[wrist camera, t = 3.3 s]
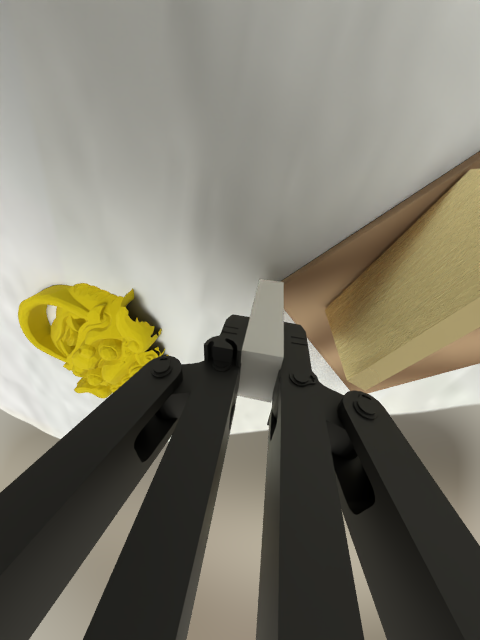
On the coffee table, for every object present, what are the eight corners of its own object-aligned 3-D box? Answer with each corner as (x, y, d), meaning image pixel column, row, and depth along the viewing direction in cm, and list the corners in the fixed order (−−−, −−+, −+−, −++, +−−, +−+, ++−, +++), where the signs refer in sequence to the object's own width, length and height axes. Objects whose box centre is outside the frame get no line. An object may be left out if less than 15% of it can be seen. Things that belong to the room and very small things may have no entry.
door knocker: (17, 278, 22) (-31, 296, 19) (150, 286, 19) (121, 309, 16) (86, 377, 32) (62, 401, 28) (182, 391, 29) (168, 420, 26)
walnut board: (271, 287, 17) (271, 292, 16) (679, 20, 8) (727, 0, 7) (352, 388, 22) (355, 396, 21) (654, 301, 13) (679, 309, 12)
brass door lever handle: (528, 113, 9) (952, 0, 3) (585, 172, 9) (1016, 162, 4) (324, 309, 16) (346, 380, 10) (365, 335, 16) (407, 414, 11)
